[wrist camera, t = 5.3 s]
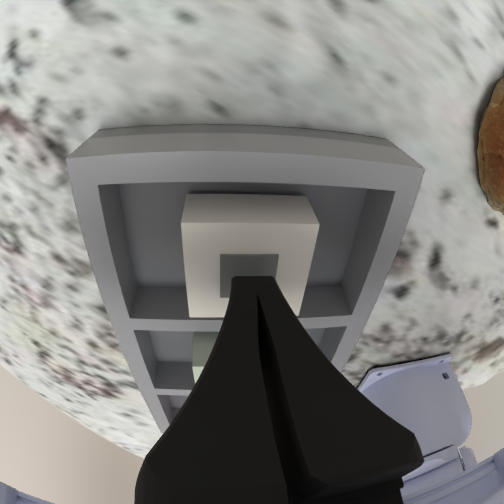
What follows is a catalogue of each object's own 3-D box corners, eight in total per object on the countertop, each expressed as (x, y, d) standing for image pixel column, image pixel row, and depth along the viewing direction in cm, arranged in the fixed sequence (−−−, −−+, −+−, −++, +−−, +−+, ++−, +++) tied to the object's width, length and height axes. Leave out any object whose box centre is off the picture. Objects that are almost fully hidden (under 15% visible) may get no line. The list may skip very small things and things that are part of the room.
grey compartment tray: (386, 139, 12) (425, 168, 10) (302, 396, 26) (308, 428, 23) (98, 129, 11) (66, 158, 8) (163, 399, 24) (161, 432, 22)
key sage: (288, 329, 15) (295, 365, 13) (276, 376, 18) (281, 407, 16) (193, 331, 14) (192, 368, 13) (199, 378, 17) (199, 409, 16)
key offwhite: (306, 196, 12) (320, 226, 10) (290, 283, 15) (299, 317, 13) (186, 193, 11) (180, 224, 10) (192, 283, 14) (189, 319, 13)
